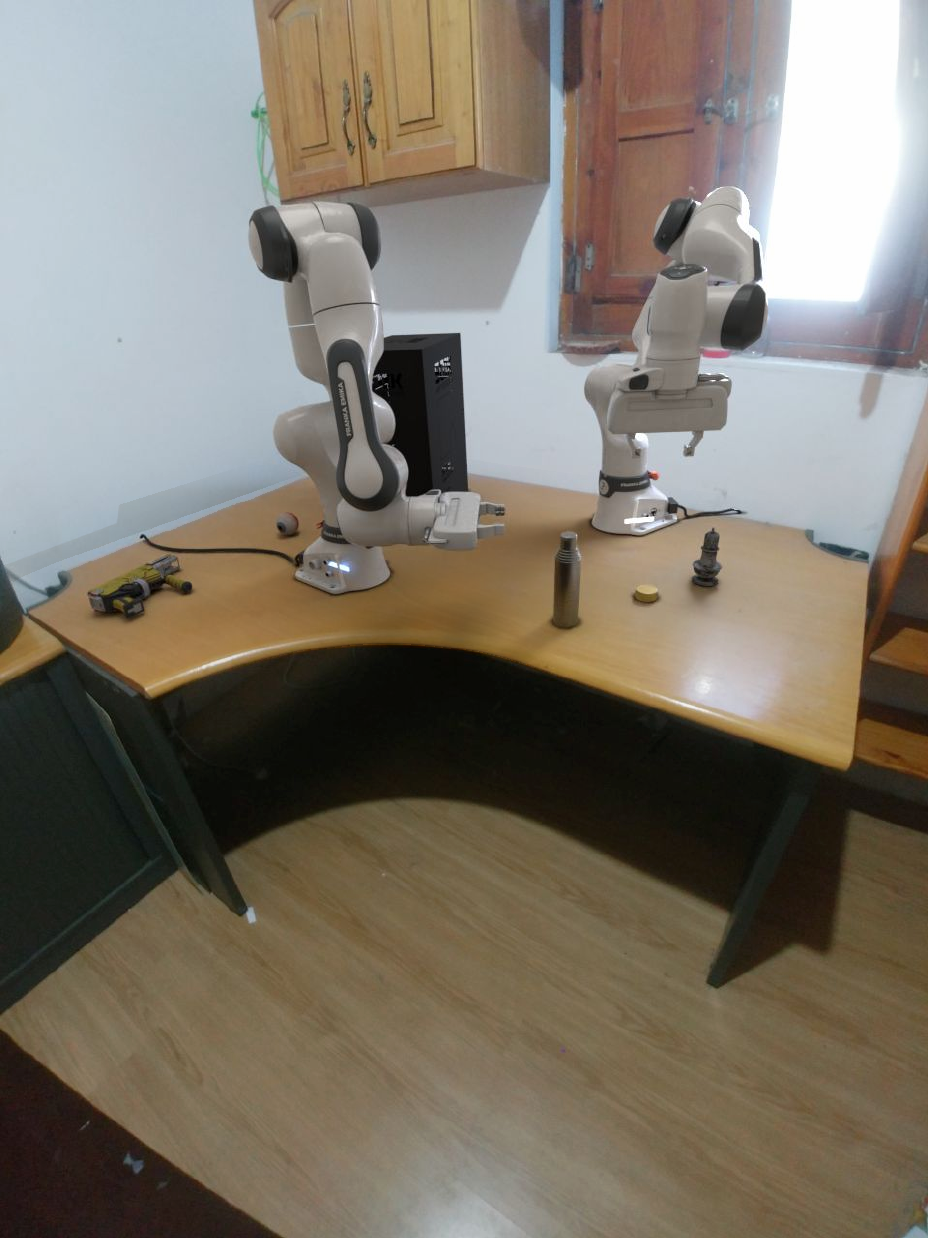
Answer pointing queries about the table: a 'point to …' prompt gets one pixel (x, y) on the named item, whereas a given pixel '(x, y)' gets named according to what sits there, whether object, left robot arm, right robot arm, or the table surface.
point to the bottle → (567, 581)
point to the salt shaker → (708, 561)
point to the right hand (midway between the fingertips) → (661, 456)
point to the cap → (646, 593)
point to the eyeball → (287, 523)
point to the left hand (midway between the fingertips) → (504, 518)
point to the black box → (426, 408)
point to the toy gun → (136, 587)
